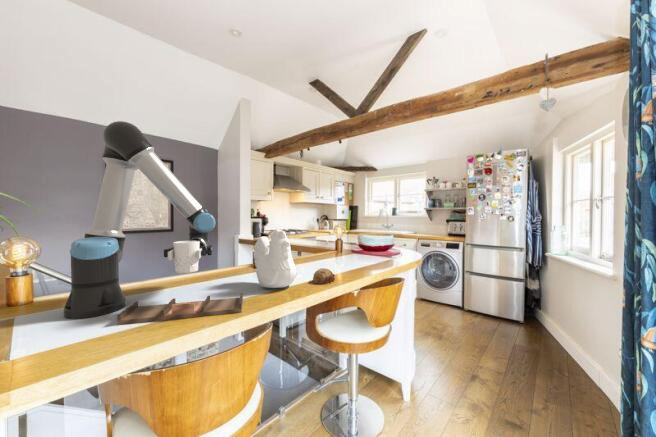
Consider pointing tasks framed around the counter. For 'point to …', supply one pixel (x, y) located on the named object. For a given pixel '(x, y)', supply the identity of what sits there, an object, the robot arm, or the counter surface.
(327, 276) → the bread roll
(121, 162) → the robot arm
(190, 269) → the white cup
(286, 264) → the decorative rooster
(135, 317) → the brown compartment tray
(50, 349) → the counter surface
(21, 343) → the counter surface
